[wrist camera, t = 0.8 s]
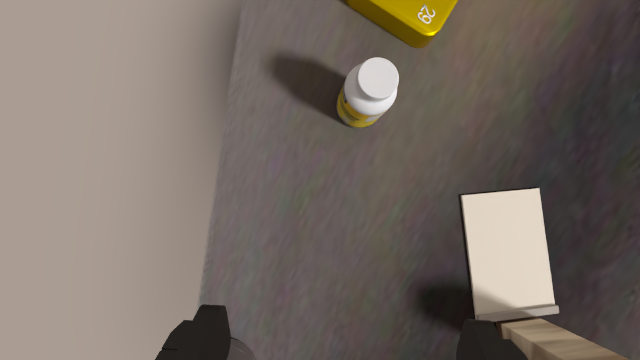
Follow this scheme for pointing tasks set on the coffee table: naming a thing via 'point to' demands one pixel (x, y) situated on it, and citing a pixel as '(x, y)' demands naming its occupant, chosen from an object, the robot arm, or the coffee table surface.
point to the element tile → (407, 17)
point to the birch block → (550, 341)
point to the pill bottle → (367, 92)
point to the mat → (508, 255)
